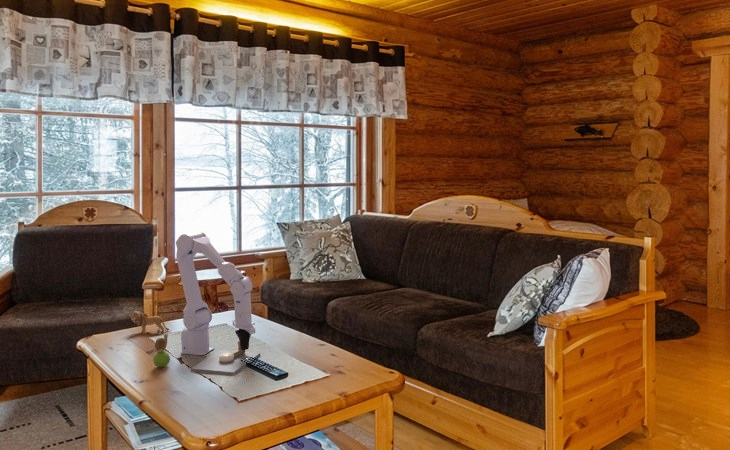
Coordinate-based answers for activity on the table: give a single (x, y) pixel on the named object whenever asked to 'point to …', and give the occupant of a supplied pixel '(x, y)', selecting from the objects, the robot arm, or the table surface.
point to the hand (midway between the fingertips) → (244, 349)
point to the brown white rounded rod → (230, 354)
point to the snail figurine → (161, 352)
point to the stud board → (223, 363)
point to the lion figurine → (147, 321)
